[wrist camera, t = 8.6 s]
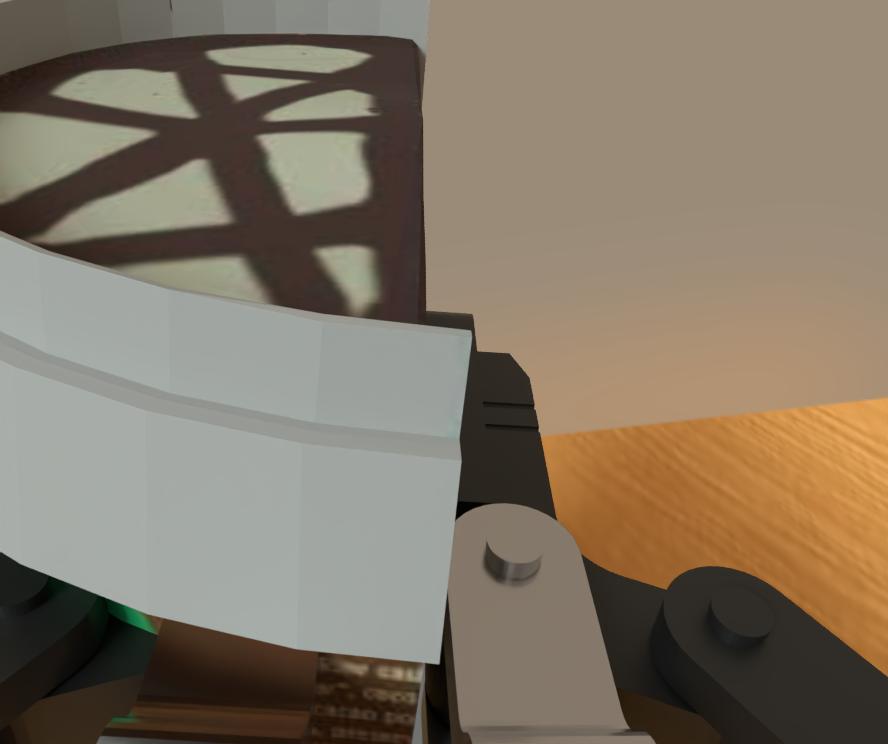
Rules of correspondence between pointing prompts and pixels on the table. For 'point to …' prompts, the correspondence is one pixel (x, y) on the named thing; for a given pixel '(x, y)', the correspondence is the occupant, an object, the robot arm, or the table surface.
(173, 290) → the food container
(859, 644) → the table surface
